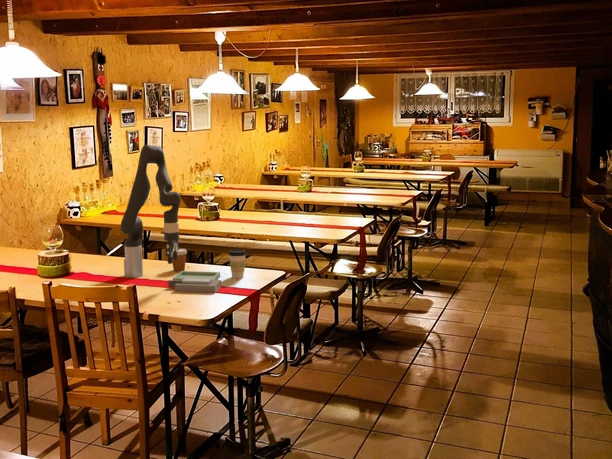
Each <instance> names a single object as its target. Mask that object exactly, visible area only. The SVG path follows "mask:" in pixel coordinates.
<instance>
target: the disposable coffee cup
mask: <svg viewBox="0 0 612 459" xmlns="http://www.w3.org/2000/svg"><path fill="white" fill-rule="evenodd" d="M187 253H188V251H187V249H186V248H179V251H178V253H177V260H173V253H172V268H173V269H172V270H173V271H174V272H179V273H180V272H181V271H186V258H187Z"/></svg>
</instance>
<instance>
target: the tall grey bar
mask: <svg viewBox="0 0 612 459" xmlns="http://www.w3.org/2000/svg"><path fill="white" fill-rule="evenodd" d="M210 283H211V279H191V278H185V279H183V280H182V281H176V280H173V279H171V280H170V279H169V280H168V281H167V286H168V288H175V284H206V285H209V284H210Z"/></svg>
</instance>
